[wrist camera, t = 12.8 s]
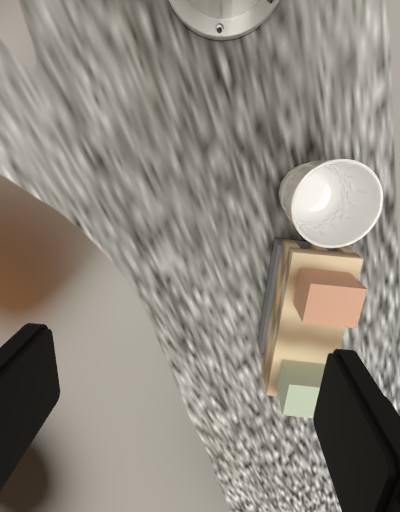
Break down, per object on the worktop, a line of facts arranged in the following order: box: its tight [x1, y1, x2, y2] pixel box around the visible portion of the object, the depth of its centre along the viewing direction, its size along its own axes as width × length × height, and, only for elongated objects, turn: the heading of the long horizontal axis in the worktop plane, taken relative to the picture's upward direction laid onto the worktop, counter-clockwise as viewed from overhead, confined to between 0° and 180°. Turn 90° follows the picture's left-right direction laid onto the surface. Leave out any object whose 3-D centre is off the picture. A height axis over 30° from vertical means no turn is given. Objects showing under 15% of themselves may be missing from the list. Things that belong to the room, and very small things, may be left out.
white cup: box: [278, 159, 383, 248], centre depth 32 cm, size 8×8×10 cm
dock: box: [258, 239, 333, 354], centre depth 40 cm, size 15×8×3 cm, turn 176°
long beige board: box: [261, 239, 364, 396], centre depth 36 cm, size 18×7×5 cm, turn 175°
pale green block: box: [276, 359, 325, 418], centre depth 34 cm, size 4×5×4 cm
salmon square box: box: [293, 268, 367, 328], centre depth 30 cm, size 4×5×4 cm
